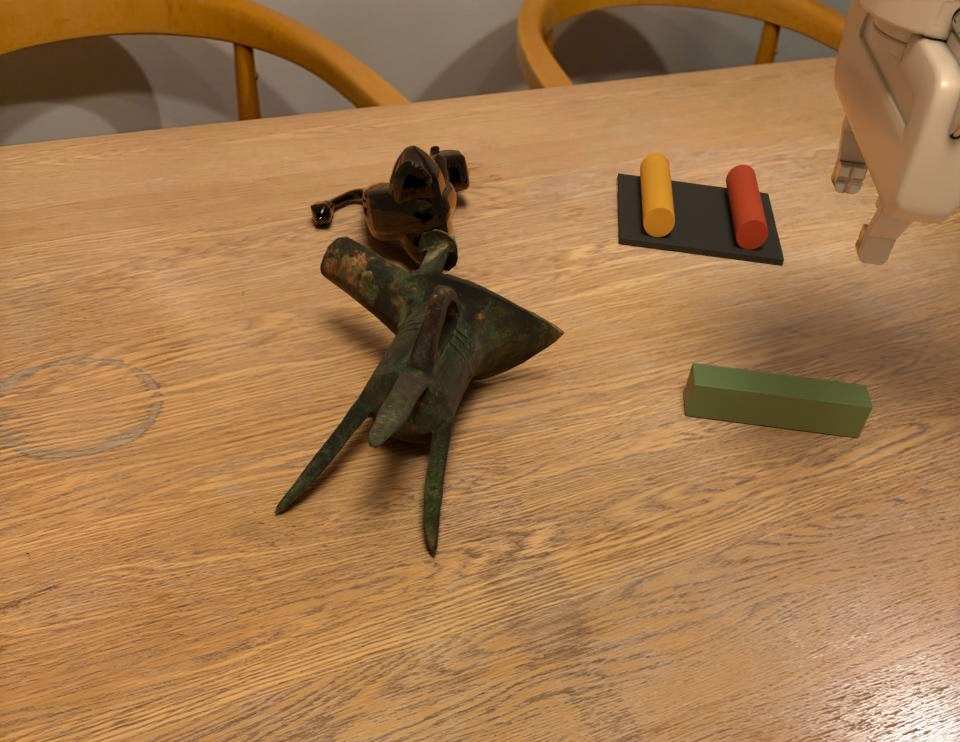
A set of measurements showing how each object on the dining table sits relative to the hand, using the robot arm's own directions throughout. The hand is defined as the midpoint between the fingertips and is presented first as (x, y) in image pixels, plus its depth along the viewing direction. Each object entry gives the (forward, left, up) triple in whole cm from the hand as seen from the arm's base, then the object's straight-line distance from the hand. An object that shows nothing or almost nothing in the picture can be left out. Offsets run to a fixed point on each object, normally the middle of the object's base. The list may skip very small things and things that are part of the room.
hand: (855, 222), depth 67 cm
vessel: (+29, +5, -18) cm, 34 cm away
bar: (0, -3, -18) cm, 18 cm away
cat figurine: (+34, -26, -18) cm, 46 cm away
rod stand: (+4, -35, -18) cm, 40 cm away
